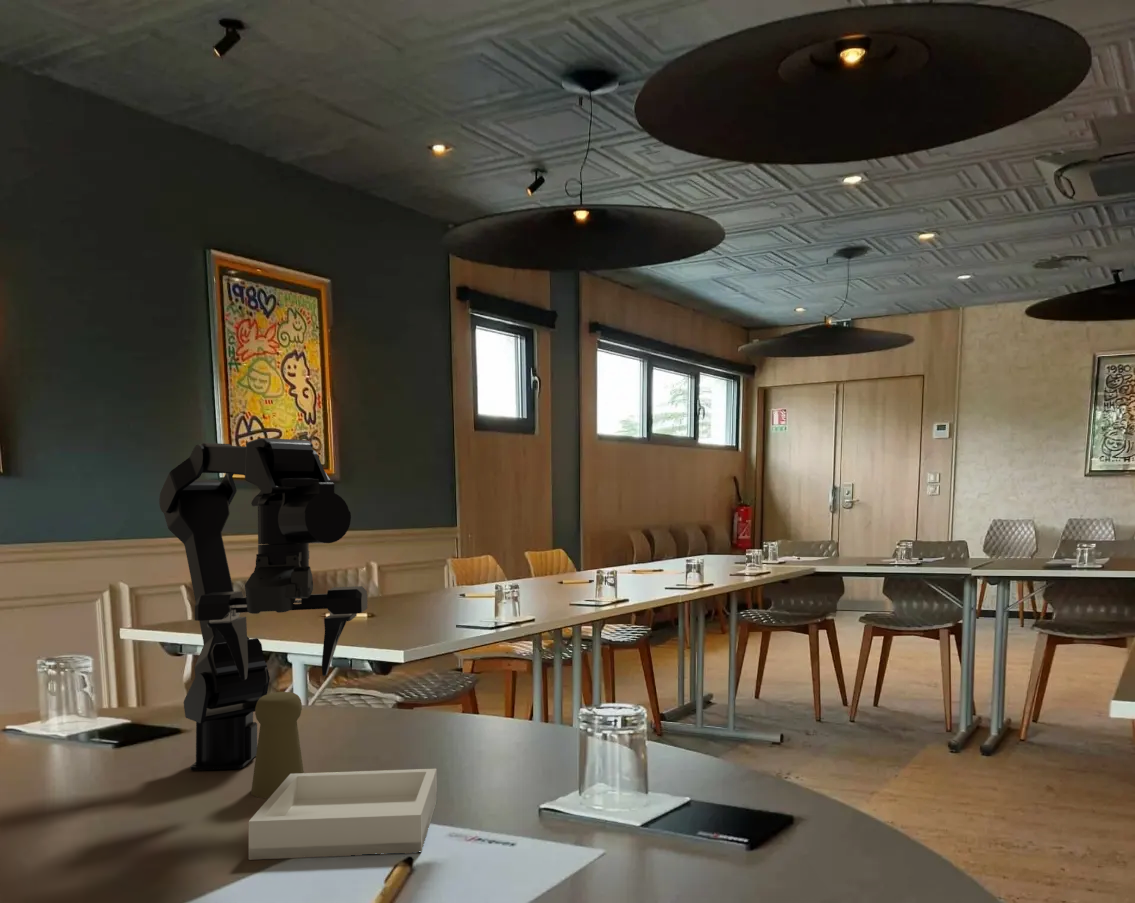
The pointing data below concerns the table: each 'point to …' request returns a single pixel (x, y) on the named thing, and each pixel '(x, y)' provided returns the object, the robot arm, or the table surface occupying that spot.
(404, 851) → the tray
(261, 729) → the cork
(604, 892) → the table surface
